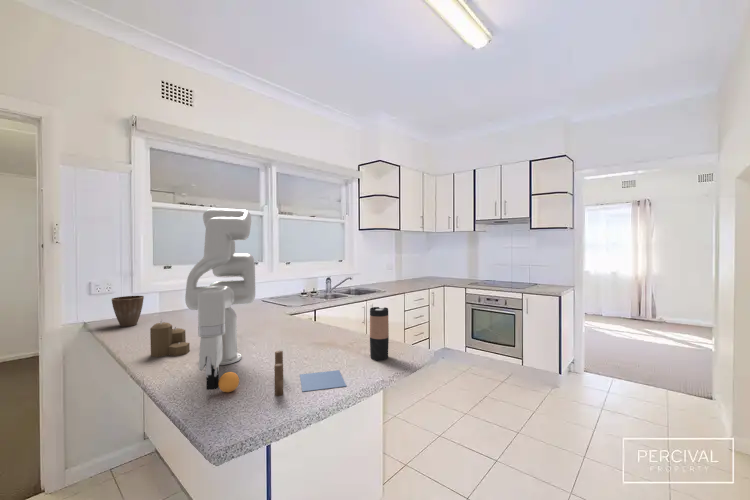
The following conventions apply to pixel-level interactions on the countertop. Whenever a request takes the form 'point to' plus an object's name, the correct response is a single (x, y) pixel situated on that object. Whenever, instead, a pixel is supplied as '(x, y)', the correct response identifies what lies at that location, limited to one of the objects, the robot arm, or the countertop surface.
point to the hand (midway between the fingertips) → (212, 388)
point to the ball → (228, 382)
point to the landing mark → (321, 380)
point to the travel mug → (379, 333)
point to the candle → (167, 340)
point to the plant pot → (127, 309)
